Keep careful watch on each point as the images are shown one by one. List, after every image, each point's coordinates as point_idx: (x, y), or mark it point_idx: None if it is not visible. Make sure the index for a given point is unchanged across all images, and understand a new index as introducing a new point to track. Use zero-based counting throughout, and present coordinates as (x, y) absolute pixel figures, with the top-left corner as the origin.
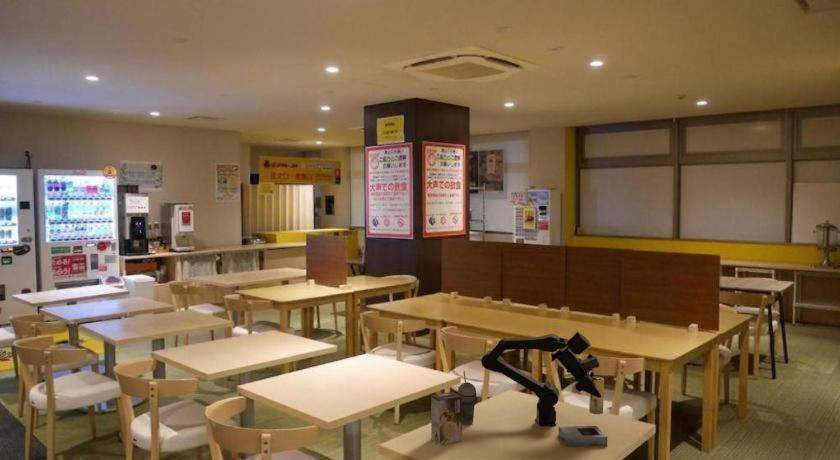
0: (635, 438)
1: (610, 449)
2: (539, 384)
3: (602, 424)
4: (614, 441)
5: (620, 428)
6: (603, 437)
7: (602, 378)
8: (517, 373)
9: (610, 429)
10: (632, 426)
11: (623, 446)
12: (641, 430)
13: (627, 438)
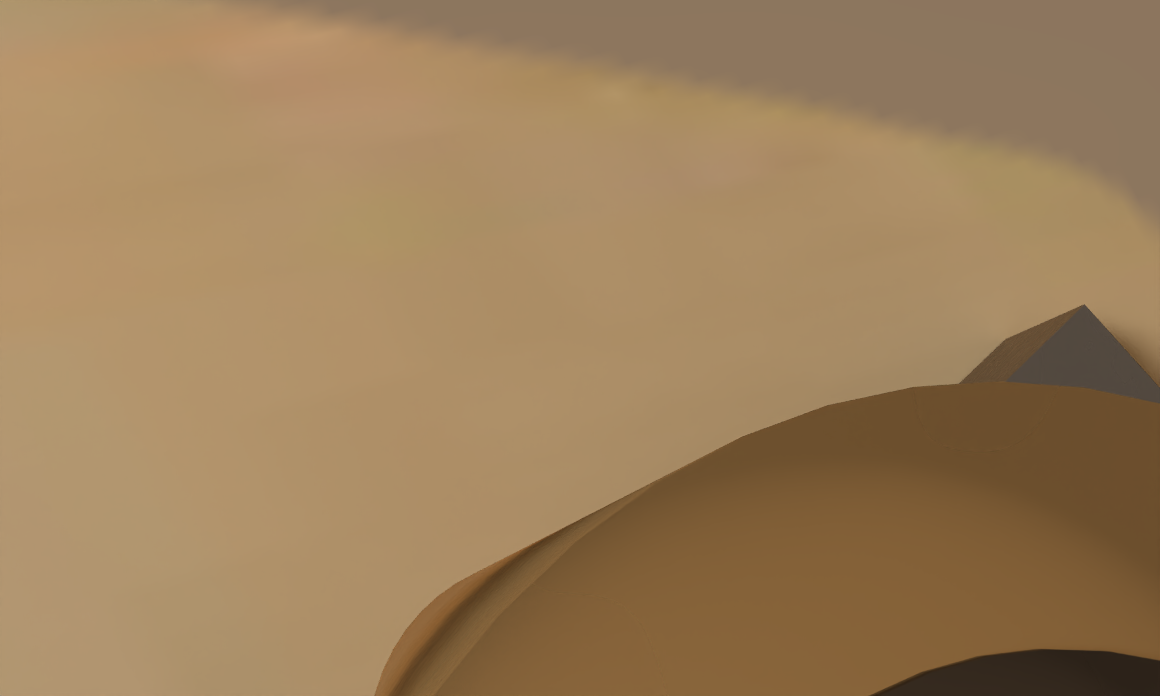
0: (531, 65)
1: (1095, 269)
2: None
3: (215, 665)
4: (818, 289)
5: (241, 338)
6: (1120, 357)
7: (625, 667)
8: None
9: (384, 468)
10: (30, 190)
11: (900, 150)
12: (146, 41)
13: (599, 159)
